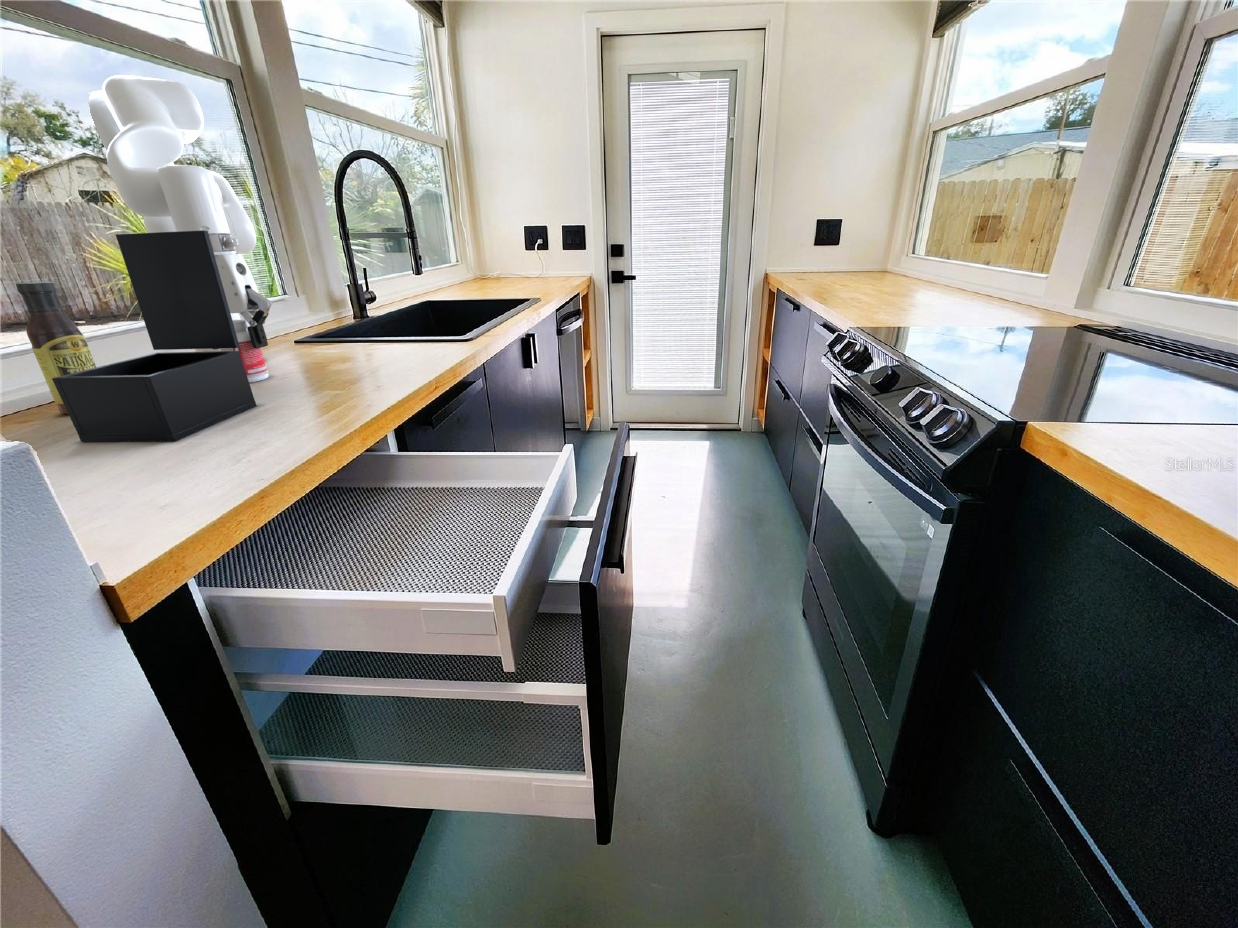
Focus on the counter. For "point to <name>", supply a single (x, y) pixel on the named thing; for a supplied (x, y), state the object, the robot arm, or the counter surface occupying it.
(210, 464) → the counter surface
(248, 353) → the pill bottle
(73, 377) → the black storage box
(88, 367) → the sauce bottle
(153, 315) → the black box lid
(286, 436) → the counter surface
